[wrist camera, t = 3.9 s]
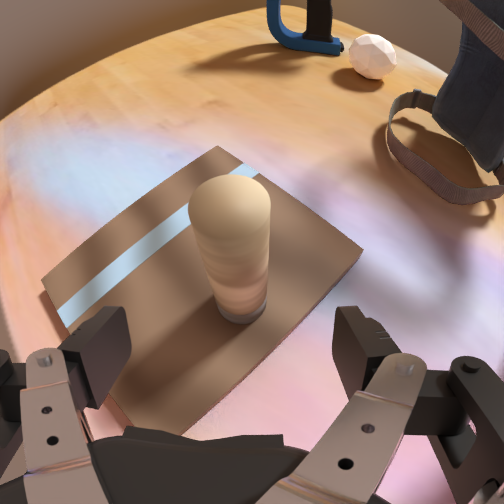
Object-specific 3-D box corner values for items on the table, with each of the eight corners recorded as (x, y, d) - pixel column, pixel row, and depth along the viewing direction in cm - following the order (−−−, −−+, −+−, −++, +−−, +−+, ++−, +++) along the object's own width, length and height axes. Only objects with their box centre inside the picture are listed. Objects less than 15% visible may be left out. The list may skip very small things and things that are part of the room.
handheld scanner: (353, 59, 47) (366, -36, 30) (265, 48, 48) (265, -48, 32) (351, 50, 49) (362, -38, 33) (268, 40, 50) (268, -49, 34)
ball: (369, 95, 45) (370, 73, 37) (340, 61, 46) (337, 36, 38) (403, 75, 43) (409, 52, 35) (374, 43, 43) (375, 18, 36)
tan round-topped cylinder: (242, 269, 24) (231, 163, 15) (276, 300, 23) (288, 203, 14) (207, 300, 23) (171, 206, 14) (241, 334, 22) (226, 255, 12)
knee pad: (521, 184, 32) (597, 49, 10) (458, 238, 27) (581, 25, 6) (439, 105, 40) (480, -28, 19) (353, 128, 36) (388, -66, 14)
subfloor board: (218, 155, 33) (217, 145, 32) (358, 258, 26) (363, 249, 25) (49, 286, 25) (40, 279, 24) (162, 450, 19) (156, 451, 17)
